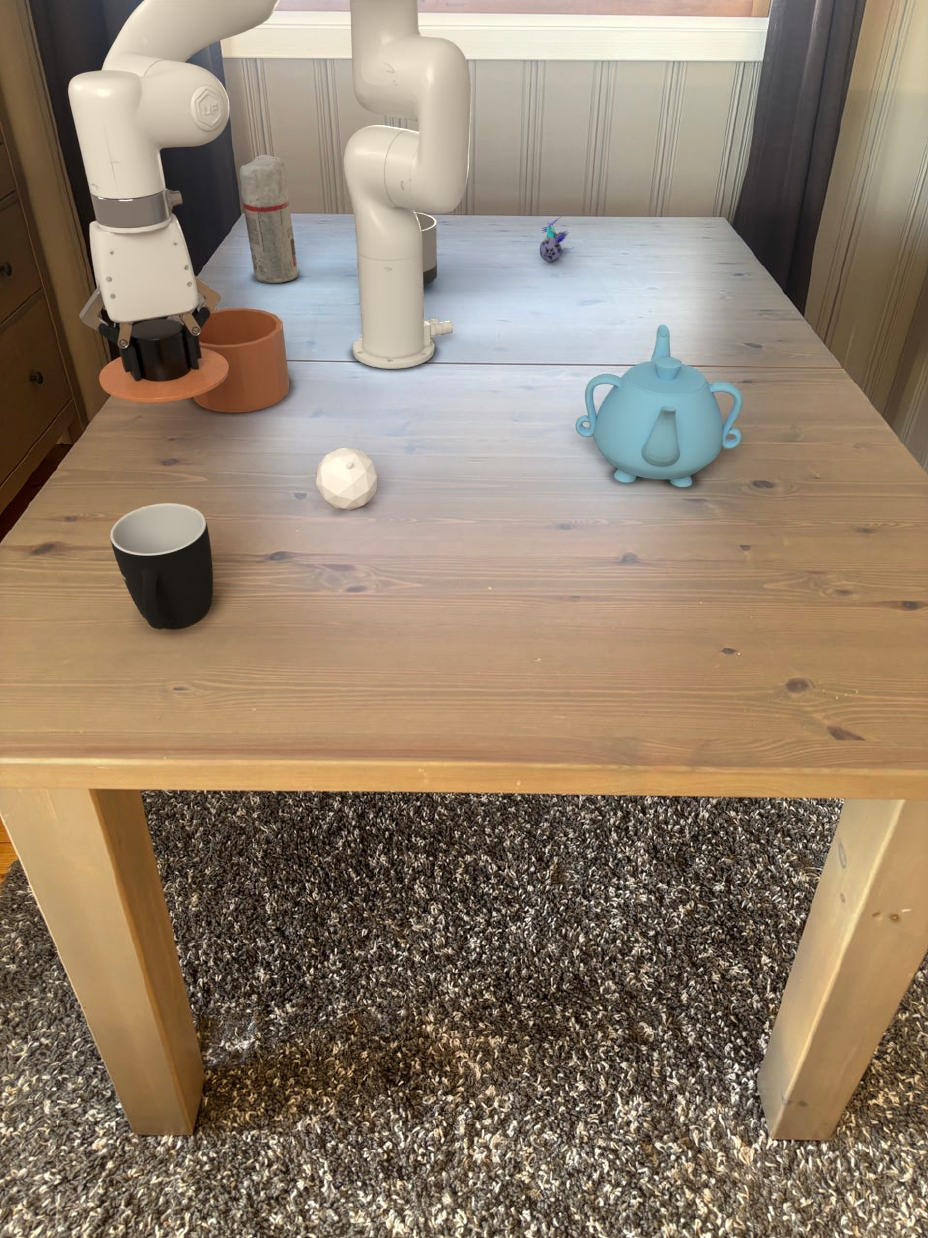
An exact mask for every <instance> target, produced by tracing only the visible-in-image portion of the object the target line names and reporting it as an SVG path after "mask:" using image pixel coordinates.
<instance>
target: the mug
mask: <svg viewBox="0 0 928 1238" xmlns="http://www.w3.org/2000/svg"><path fill="white" fill-rule="evenodd" d="M109 538H110V544H111V548H112V551H113V554H114V557H115V560H116V563H117V566H118V568H119V571H120V573H121V576H122V578H123V581H124V584H125V586H126V589H127V591H128V593H129V595H130V597H131V599H132V601H133V603H134V604H135V606H136V608H137V611H138V612H139V614H140V615H141V616H142V617H143V618H144V619H145V620H146V622H147V624H148V625H149V626H150V627H151V628H153V629H155V630H163V629H164V630H180V629H185V628H188V627H190V626H193V625H195V624H197V623H198V622H200V621H201V620H202V619H203V618H204V617H205V616H206V615H207V614H208V612H209V610H210V608H211V606H212V601H213V596H214V566H213V554H212V546H211V540H210V531H209V527H208V524H207V519H206V517H205V516H204V514H203V513H202V512H201V511H200V510H198V509H196V508H195V507H193V506H190V505H186V504H183V503H173V502H167V503H165V502H163V503H155V504H149V505H146V506H142V507H139V508H137V509H136V508H135V509H134V510H132V511H130V512H128V513H126V514H125V515H123V516H122V517H120V518H119V519H118V520H116V522H115V523H114V524H113V526H112V527H111V529H110V535H109Z"/></svg>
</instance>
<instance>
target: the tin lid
mask: <svg viewBox="0 0 928 1238" xmlns="http://www.w3.org/2000/svg"><path fill="white" fill-rule="evenodd" d="M130 341H131V344H132V345H133V346H134V348H135V351H136V355H137V360H138V364H139V369H140V374H141V379H140V380H139V381H135V380H134V378H133V376H132V375H131V373H130V372H127V373H126V372H125V370H124V368H123V364H122V360H121V356H119V357H117V358H115V359H114V360H112V361H110V362H109V363H107V364H106V365H105V366H104V367H103V368H102V369H101V371H100V373H99V377H98V379H99V380H98V381H99V384H100V387H101V388H102V390H103V391H104V392H106V393H107V394H108V395H110V396H112V397H114V398H116V399H118V400H119V399H120V400H122V401H126V402H127V401H129V402H135V403H145V404H146V403H148V404H150V403H151V404H152V403H153V404H155V403H157V404H158V403H167V402H176V401H181V400H186V399H190V398H193V397H194V396H197V395H200V394H203V393H205V392H207V391H210V390H212V389H213V388H215V387H217V386H218V385H220V384H221V383H222V382H223V381H224V380H225V379H226V377H227V376H228V373H229V366H228V362H227V361H226V359H225V358H224V357H223V356H221V355H220V354H218V353H216V352H214V351H211V350H208V349H205V348H200V349H201V355H202V358H201V359H198V364H199V369H197V370H194V369H192V368H191V366H190V360H189V355H188V349H187V344H186V338H185V333H184V327H183V324H182V323H181V322H180V321H177V320H173V319H168V318H156V319H150V320H144V321H140V322H137V323H135V324H133V325H132V330H131V336H130Z"/></svg>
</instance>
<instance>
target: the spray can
mask: <svg viewBox="0 0 928 1238" xmlns="http://www.w3.org/2000/svg"><path fill="white" fill-rule="evenodd" d="M285 168H286V167H285V163H284V161H283V159H281V158H280V157H276V156H272V155H271V154H260V155H258V156H257V157H255V158H253V160H252V162H251V161H250V162H249V163H247V164H243V165H241V167H239V179H240V180H239V181H240V193H241V194H240V195H241V201H242V205H243V213H244V219H245V223H246V228H247V229H246V231H247V236H248V242H249V243H248V244H249V249H250V254H251V262H252V269H253V273H254V276H255V280H257V281H259V282H262V283H265V284H279V283H281V284H282V283H285V282H289V281H292V280H296V279H297V278H298V277H299V271H298V263H297V255H296V253H297V252H296V245H295V239H294V229H293V222H292V215H291V208H290V207H291V206H290V199H289V193H288V188H287V187H288V183H287V177H286V169H285Z"/></svg>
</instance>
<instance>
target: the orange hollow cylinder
mask: <svg viewBox="0 0 928 1238" xmlns="http://www.w3.org/2000/svg"><path fill="white" fill-rule="evenodd" d="M182 325H184V323H183V324H182ZM284 332H285V331H284V324H283V320H281V319H280V317H278V316H277V315H276V314H274V313H271V312H269V311H267V310H263V309H255V308H249V307H235V308H229V307H228V308H221V309H217V310H213V311H212V312H211V313H210V317H209V318H208V319H207V321H206V322H205V324H204V325H203V326H202V328H201V332H200V334H199V335H198V338H199V343H200V348H205V349H208V350H211V351H214V352H216V353H218V354H220V355H221V356H223V357H224V358H225V359H226V361H227V362H228V366H229V373H228V376H227V377H226V379H225V380H224V381H223V382H222V383H221V384H220V385H218V386H217V387H215V388H213V389H212V390H210V391H207V392H205V393H203V394H200V395H197V396H194V397H192V398H193V399H194V401H195V402H196V404H198V405H199V406H200V407H202V408H204V409H207V410H211V411H214V412H218V413H219V412H220V413H230V414H233V413H234V414H235V413H238V414H239V413H249V412H254V411H258V410H259V411H260V410H264V409H266V408H269V407H271V406H274V405H276V404H278V403H280V402H281V401H282V400H284V399H285V398H286V396H287V395H288V394H289V392H290V375H289V366H288V357H287V351H286V350H287V349H286V340H285V333H284Z"/></svg>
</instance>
